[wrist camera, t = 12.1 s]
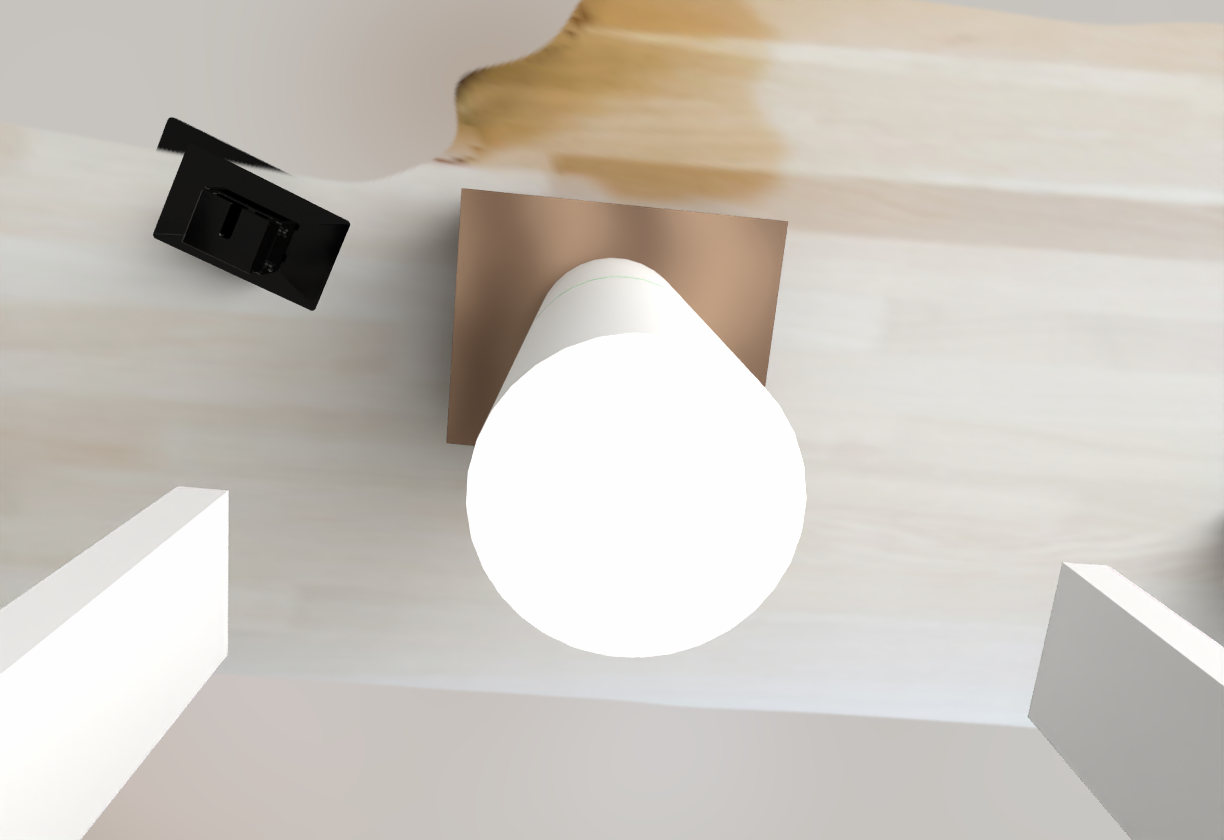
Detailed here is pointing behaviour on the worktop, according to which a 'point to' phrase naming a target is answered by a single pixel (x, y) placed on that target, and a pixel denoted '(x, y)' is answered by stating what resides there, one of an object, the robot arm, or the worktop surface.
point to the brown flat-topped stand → (581, 232)
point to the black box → (246, 218)
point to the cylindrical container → (632, 472)
